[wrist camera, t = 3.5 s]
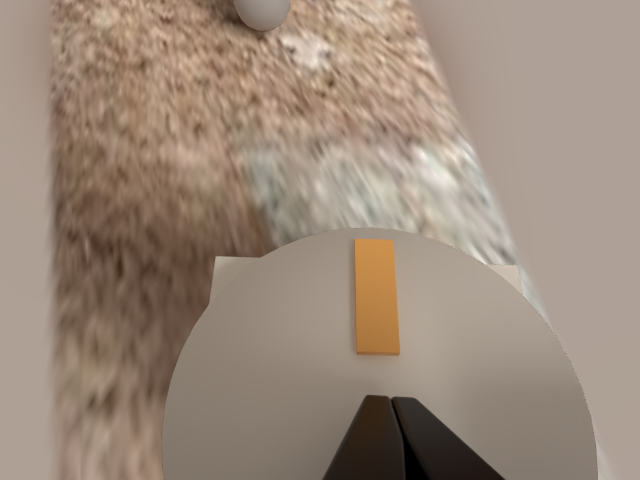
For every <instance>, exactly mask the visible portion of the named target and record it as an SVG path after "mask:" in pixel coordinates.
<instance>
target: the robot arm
mask: <svg viewBox="0 0 640 480" xmlns="http://www.w3.org/2000/svg"><path fill="white" fill-rule="evenodd" d="M322 480H506V479H504V478H503V477H502V476H501V475H500V474H499V473H498V472H497V471H496V470H495V469H493V468H492V467H491V466H490V465H489V464H488V463H487V462H486V461H485V460H484V459H482V458H481V457H480V456H479V455H478V454H477V453H476V452H475V451H474V450H473V449H471V448H470V447H469V446H468V445H467V444H466V443H465V442H464V441H463V440H462V439H460V438H459V437H458V436H457V435H456V434H455V433H454V432H453V431H452V430H450V429H449V428H448V427H447V426H446V425H445V424H444V423H443V422H442V421H441V420H439V419H438V418H437V417H436V416H435V415H434V414H433V413H432V412H431V411H430V410H428V409H427V408H426V407H425V406H424V405H423V404H422V403H421V402H420V401H419V400H417V399H416V398H414V397H400V396H394V397H392V398H391V399H390V397H388V396H383V395H366V396H365V397H364V399H363V401H362V403H361V405H360V407H359V409H358V410H357V412H356V414H355V416H354V418H353V420H352V422H351V424H350V426H349V428H348V430H347V432H346V434H345V436H344V438H343V440H342V442H341V443H340V445H339V447H338V449H337V451H336V453H335V455H334V457H333V459H332V461H331V463H330V465H329V467H328V469H327V471H326V473H325V475H324V476H323V478H322Z"/></svg>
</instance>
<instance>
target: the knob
mask: <svg viewBox="0 0 640 480" xmlns="http://www.w3.org/2000/svg"><path fill="white" fill-rule="evenodd" d="M366 395H383V396H388V397H390V399H391V398H392V397H394V396H400V397H414V398H416V399H417V400H419V401H420V402H421V403H422V404H423V405H424V406H425V407H426V408H427V409H428V410H430V411H431V412H432V413H433V414H434V415H435V416H436V417H437V418H438V419H439V420H441V421H442V422H443V423H444V424H445V425H446V426H447V427H448V428H449V429H450V430H452V431H453V432H454V433H455V434H456V435H457V436H458V437H459V438H460V439H462V440H463V441H464V442H465V443H466V444H467V445H468V446H469V447H470V448H471V449H473V450H474V451H475V452H476V453H477V454H478V455H479V456H480V457H481V458H482V459H484V460H485V461H486V462H487V463H488V464H489V465H490V466H491V467H492V468H493V469H495V470H496V471H497V472H498V473H499V474H500V475H501V476H502V477H503V478H504V479H506V480H598V470H597V453H596V443H595V437H594V432H593V426H592V421H591V416H590V412H589V409H588V406H587V403H586V399H585V396H584V393H583V389H582V387H581V384H580V382H579V380H578V377H577V375H576V373H575V371H574V368H573V366H572V364H571V361H570V360H569V358H568V356H567V354H566V353H565V351H564V349H563V347H562V346H561V344H560V342H559V340H558V339H557V337H556V335H555V334H554V333H553V331H552V330H551V329H550V327H549V326H548V324H547V323H546V322H545V320H544V319H543V317H542V316H541V315H540V314H539V313H538V311H537V310H536V309H535V308H534V307H533V306H532V305H531V304H530V303H529V301H528V300H527V299H526V298H525V297H524V296H523V292H522V287H521V282H520V277H519V272H518V267H517V266H514V265H485V264H484V263H482V262H480V261H479V260H477V259H475V258H473V257H472V256H470V255H468V254H466V253H465V252H463V251H461V250H459V249H456V248H454V247H452V246H450V245H447V244H445V243H443V242H440V241H437V240H434V239H431V238H428V237H425V236H422V235H418V234H414V233H409V232H404V231H399V230H393V229H381V228H348V229H340V230H333V231H326V232H323V233H319V234H315V235H311V236H307V237H304V238H301V239H299V240H296V241H293V242H291V243H288V244H286V245H283V246H281V247H279V248H278V249H276V250H274V251H272V252H270V253H268V254H266V255H264V256H263V257H261V258H254V257H221V256H216V258H215V265H214V272H213V279H212V287H211V294H210V301H209V305H208V306H207V308H206V309H205V311H204V312H203V314H202V315H201V317H200V318H199V320H198V321H197V323H196V324H195V325H194V327H193V329H192V331H191V333H190V335H189V337H188V339H187V341H186V343H185V344H184V346H183V348H182V350H181V353H180V356H179V358H178V361H177V364H176V366H175V369H174V372H173V375H172V378H171V382H170V386H169V390H168V395H167V399H166V403H165V410H164V420H163V429H162V467H163V474H164V480H322V478H323V476H324V475H325V473H326V471H327V469H328V467H329V465H330V463H331V461H332V459H333V457H334V455H335V453H336V451H337V449H338V447H339V445H340V443H341V442H342V440H343V438H344V436H345V434H346V432H347V430H348V428H349V426H350V424H351V422H352V420H353V418H354V416H355V414H356V412H357V410H358V409H359V407H360V405H361V403H362V401H363V399H364V397H365V396H366Z"/></svg>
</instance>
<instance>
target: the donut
mask: <svg viewBox="0 0 640 480" xmlns="http://www.w3.org/2000/svg"><path fill="white" fill-rule="evenodd" d="M233 2H234V6H235V9H236V11H237V13H238V15H239V16H240V18H241V20H242V21H243V22H244V23H245V24H246V25H247V26H248V27H250V28H253V29H255V30H258V31H269V30H273V29H275V28H276V27H278V26H280V25H281V24H282V22H283V21H284V20H285V19H286V17H287V14H288V12H289V9H290V0H233Z"/></svg>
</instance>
